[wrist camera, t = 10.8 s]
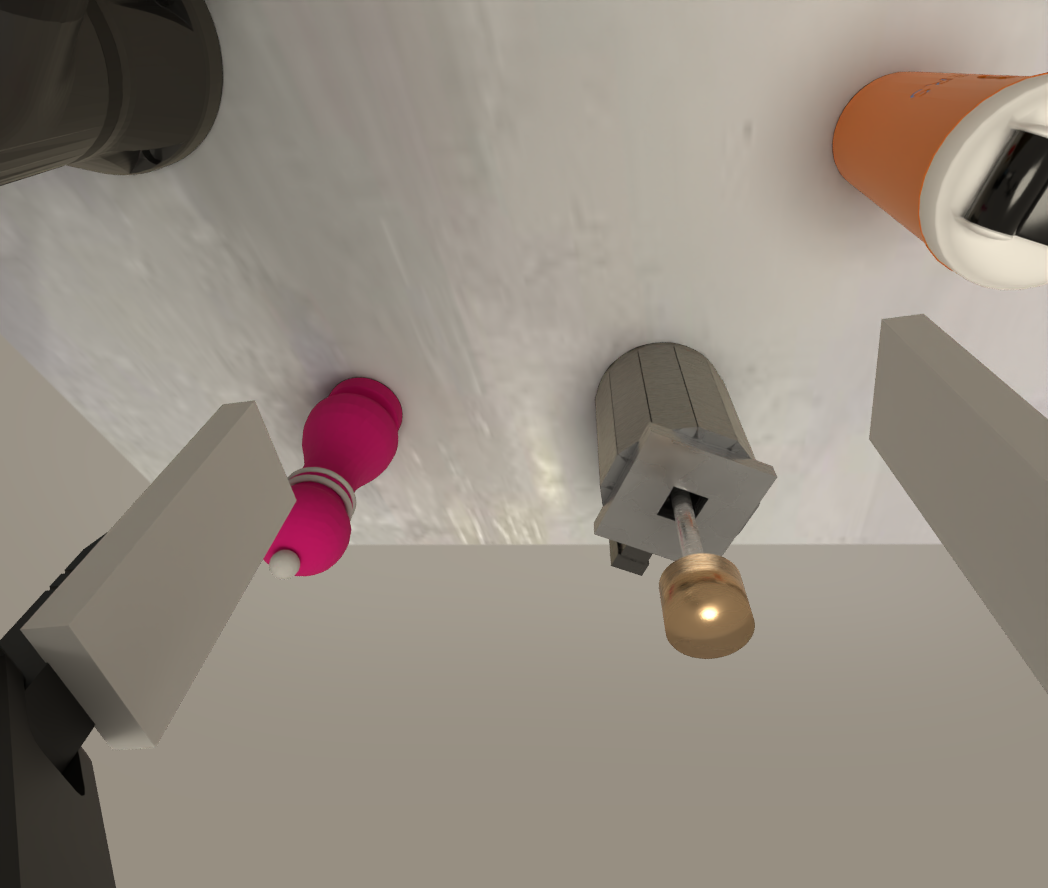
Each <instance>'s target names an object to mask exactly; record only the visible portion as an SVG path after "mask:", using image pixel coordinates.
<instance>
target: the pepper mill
mask: <svg viewBox="0 0 1048 888" xmlns="http://www.w3.org/2000/svg"><path fill="white" fill-rule="evenodd" d="M401 422H402V409H401V405H400V403H399V401H398V399H397V397H396V396H395V395H394V393H393V392H392V391H391V390H390V389H388V388H387V387H386V386H385V385H383V384H381V383H379V382H378V381H375V380H372V379H368V378H351V379H348V380H345V381H343V382H341V383H340V384H338V385H337V386H336V387H335V388H334V389H333V390H332V392H331V393H330V395H329V396H328V397H327V398H326V399H324V400H322V401H320V402H319V403H318V404H317V405H316V406H315V407H314V408H313V409H312V411H311V412H310V414H309V416H308V418H307V421H306V423H305V426H304V430H303V439H302V448H303V454H304V463H305V464H304V467H303V468H302V469H299V470H297V471H295V472H293V473H292V474H291V475H290V476H289V477H288V478H287V479H288V481H289V484H290V486H291V488H292V491H293V493H294V495H295V498H296V500H297V501H296V502H295V504H294V506H293V508H292V509H291V511H290V513H289V515H288V516H287V518H286V520H285V522H284V523H283V525H282V527H281V529H280V530H279V532H278V534H277V536H276V537H275V539H274V541H273V543H272V544H271V546H270V548H269V550H268V551H267V553H266V555H265V557H264V560H265V562H266V563H267V564H269V570H270V571H271V573H272V575H273V576H274V577H276V578H278V579H283V580H285V579H289V578H291V577H293V576H311V575H315V574H318V573H321V572H324V571H326V570H328V569H329V568H330V567H331V566H333V565H334V564H335V563H336V562H337V561H338V560H339V559H340V558H341V557H342V555H343V553H344V552H345V550H346V548H347V546H348V544H349V540H350V534H351V525H350V520H351V518H352V515H353V514H354V511H355V509H356V497H355V494H354V492H355V491H356V490H357V489H358V488H359V487H361V486H363V485H365V484H367V483H368V482H370V481H372V480H374V479H375V478H376V477H378V476H379V475H380V474H381V473H382V472H383V471H384V470H385V469H386V468H387V467H388V465H389V464H390V462H391V461H392V459H393V457H394V455H395V453H396V450H397V447H398V430H399V428H400V425H401Z"/></svg>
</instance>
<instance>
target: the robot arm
mask: <svg viewBox="0 0 1048 888" xmlns="http://www.w3.org/2000/svg"><path fill="white" fill-rule="evenodd" d="M222 74H223V73H222V60H221V52H220V47H219V42H218V38H217V34H216V30H215V27H214V24H213V21H212V18H211V16H210V13H209V11H208V8H207V6H206V4H205V1H204V0H0V186H2V185H5V184H8V183H11V182H14V181H18V180H21V179H24V178H27V177H30V176H33V175H36V174H40V173H43V172H46V171H49V170H52V169H55V168H58V167H62V166H65V165H67V166H71V167H76V168H81V169H85V170H90V171H94V172H99V173H104V174H112V175H135V174H143V173H147V172H151V171H154V170H157V169H160V168H163V167H165V166H168V165H171V164H173V163H175V162H178V161H179V160H181V159H183V158H184V157H186V156H187V155H189V154H190V153H191V152H192V151H193V150H195V149H196V148H197V147H198V146H199V144H200V143H201V142H202V141H203V140H204V138H205V137H206V135H207V134H208V132H209V130H210V129H211V127H212V125H213V122H214V120H215V118H216V115H217V112H218V108H219V104H220V99H221V93H222ZM869 440H870V441H871V442H872V444H873V445H874V447H875V448H876V450H877V451H878V452H879V454H880V455H881V457H882V458H883V460H884V461H885V462H886V464H887V465H888V467H889V468H890V470H891V471H892V472H893V474H894V475H895V477H896V478H897V480H898V481H899V482H900V484H901V485H902V487H903V488H904V490H905V491H906V492H907V494H908V495H909V497H910V498H911V500H912V501H913V502H914V504H915V505H916V507H917V508H918V510H919V511H920V512H921V514H922V515H923V517H924V518H925V520H926V521H927V522H928V524H929V525H930V527H931V528H932V530H933V531H934V532H935V534H936V535H937V537H938V538H939V540H940V541H941V542H942V544H943V545H944V547H945V548H946V550H947V551H948V552H949V554H950V555H951V557H952V558H953V560H954V561H955V562H956V564H957V565H958V567H959V568H960V569H961V571H962V572H963V574H964V575H965V576H966V578H967V580H968V581H969V582H970V584H971V585H972V586H973V588H974V589H975V591H976V592H977V594H978V595H979V597H980V598H981V599H982V601H983V602H984V604H985V605H986V607H987V608H988V609H989V611H990V612H991V614H992V615H993V616H994V618H995V619H996V621H997V622H998V624H999V625H1000V626H1001V628H1002V629H1003V631H1004V632H1005V634H1006V635H1007V636H1008V638H1009V639H1010V641H1011V642H1012V644H1013V645H1014V646H1015V648H1016V649H1017V651H1018V652H1019V654H1020V655H1021V657H1022V658H1023V659H1024V661H1025V662H1026V664H1027V665H1028V666H1029V668H1030V669H1031V671H1032V672H1033V674H1034V675H1035V677H1036V678H1037V679H1038V681H1039V682H1040V684H1041V685H1042V687H1043V688H1044V689H1045V690H1046V692H1047V694H1048V419H1047V418H1046V417H1044V416H1043V415H1042V414H1041V413H1040V412H1039V411H1037V410H1036V409H1035V408H1034V407H1033V406H1031V405H1030V404H1029V403H1028V402H1027V401H1026V400H1024V399H1023V398H1022V397H1021V396H1020V395H1019V394H1017V393H1016V392H1015V391H1014V390H1013V389H1011V388H1010V387H1009V386H1008V385H1007V384H1006V383H1004V382H1003V381H1002V380H1001V379H1000V378H998V377H997V376H996V375H995V374H994V373H993V372H991V371H990V370H989V369H988V368H987V367H986V366H984V365H983V364H982V363H981V362H980V361H978V360H977V359H976V358H975V357H974V356H973V355H971V354H970V353H969V352H968V351H967V350H966V349H964V348H963V347H962V346H961V345H960V344H958V343H957V342H956V341H955V340H954V339H953V338H951V337H950V336H949V335H948V334H947V333H945V332H944V331H943V330H942V329H941V328H940V327H938V326H937V325H936V324H935V323H934V322H933V321H931V320H930V319H929V318H928V317H927V316H925V315H924V314H919V315H911V316H903V317H895V318H888V319H882V321H881V330H880V340H879V350H878V359H877V369H876V379H875V388H874V398H873V407H872V417H871V427H870V436H869ZM296 501H297V500H296V498H295V495H294V493H293V491H292V488H291V486H290V484H289V481H288V479H287V476H286V474H285V472H284V469H283V467H282V464H281V462H280V460H279V457H278V455H277V453H276V450H275V448H274V445H273V443H272V441H271V438H270V436H269V433H268V431H267V429H266V426H265V424H264V422H263V419H262V417H261V414H260V412H259V410H258V407H257V405H256V402H255V401H247V402H239V403H232V404H224V405H222V406H221V407H220V408H219V409H218V410H217V412H216V413H215V414H214V415H213V416H212V417H211V418H210V419H209V420H208V422H207V423H206V424H205V425H204V426H203V427H202V428H201V429H200V430H199V432H198V433H197V434H196V435H195V436H194V437H193V438H192V439H191V440H190V441H189V443H188V444H187V445H186V446H185V447H184V448H183V449H182V450H181V451H180V453H179V454H178V455H177V456H176V457H175V458H174V459H173V460H172V461H171V463H170V464H169V465H168V466H167V467H166V468H165V469H164V470H163V471H162V473H161V474H160V475H159V476H158V477H157V478H156V479H155V480H154V481H153V483H152V484H151V485H150V486H149V487H148V488H147V489H146V490H145V491H144V493H143V494H142V495H141V496H140V497H139V498H138V499H137V500H136V501H135V503H134V504H133V505H132V506H131V507H130V508H129V509H128V510H127V511H126V513H125V514H124V515H123V516H122V517H121V518H120V519H119V520H118V522H117V523H116V524H115V525H114V526H113V527H112V528H111V529H110V530H109V531H108V532H107V533H106V534H104V535H103V536H102V537H100V538H99V539H97V540H96V541H95V542H93V543H92V544H90V545H89V546H88V547H86V548H85V549H83V551H82V552H81V553H80V554H79V555H78V556H77V557H76V558H75V559H74V561H72V563H71V564H70V565H69V566H68V567H67V568H66V569H65V574H61V575H60V576H59V577H58V578H57V579H56V580H55V581H54V582H53V583H52V584H51V586H50V590H49V591H45V592H44V593H43V594H42V595H41V596H40V598H39V599H38V600H37V601H36V602H35V603H34V604H33V605H32V606H31V607H30V608H29V610H28V611H27V612H26V613H25V614H24V615H23V616H22V617H21V618H20V619H19V620H18V621H17V623H16V624H15V625H14V626H13V627H12V628H11V629H10V630H9V631H8V632H7V633H6V634H5V636H4V637H3V638H2V639H1V640H0V888H116V886H115V880H114V876H113V870H112V865H111V860H110V854H109V849H108V844H107V839H106V834H105V829H104V824H103V818H102V813H101V807H100V803H99V797H98V792H97V787H96V781H95V776H94V771H93V766H92V761H91V760H90V758H89V756H88V755H87V753H86V752H85V751H84V749H83V748H82V747H81V745H82V744H83V742H84V741H85V740H86V738H87V737H88V735H89V734H90V732H91V731H92V729H93V728H94V727H95V728H96V729H97V731H98V732H99V733H100V734H101V736H102V737H103V738H104V740H105V741H106V742H107V744H108V745H109V746H110V748H111V749H112V750H123V749H141V748H155V747H156V746H157V744H158V743H159V741H160V739H161V737H162V736H163V734H164V732H165V730H166V729H167V727H168V725H169V723H170V722H171V720H172V718H173V716H174V715H175V713H176V711H177V709H178V708H179V706H180V704H181V702H182V701H183V699H184V697H185V695H186V694H187V692H188V690H189V688H190V686H191V685H192V683H193V681H194V679H195V678H196V676H197V674H198V672H199V671H200V669H201V667H202V665H203V663H204V662H205V660H206V658H207V657H208V655H209V653H210V651H211V650H212V648H213V646H214V644H215V643H216V641H217V639H218V637H219V636H220V634H221V632H222V630H223V628H224V627H225V625H226V623H227V622H228V620H229V618H230V616H231V615H232V613H233V611H234V609H235V608H236V606H237V604H238V602H239V600H240V599H241V597H242V595H243V593H244V592H245V590H246V588H247V587H248V585H249V583H250V581H251V580H252V578H253V576H254V574H255V572H256V571H257V569H258V567H259V565H260V564H261V562H262V560H263V559H264V557H265V555H266V553H267V551H268V550H269V548H270V546H271V544H272V543H273V541H274V539H275V537H276V536H277V534H278V532H279V530H280V529H281V527H282V525H283V523H284V522H285V520H286V518H287V516H288V515H289V513H290V511H291V509H292V508H293V506H294V504H295V502H296Z"/></svg>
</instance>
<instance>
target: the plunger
mask: <svg viewBox="0 0 1048 888" xmlns="http://www.w3.org/2000/svg"><path fill="white" fill-rule="evenodd" d="M670 496H671V501H672V506H673V511H674V516H675V521H676V526H677V531H678V536H679V541H680V546H681V550H682V555H683V557H682V558H680V559H678V560H676V561H675V562H673V563H672V564H670V565H669V566H668V567H667V568H666V569H665V570H664V572H663V573H662V575H661V578H660V582H659V591H660V598H661V605H662V611H663V618H664V625H665V631H666V636H667V639H668V641H669V643H670V644H671V645H672V646H673V647H674V648H675V649H676V650H678V651H679V652H681V653H683V654H685V655H687V656H690V657H695V658H702V659H712V658H719V657H723V656H727V655H729V654H732V653H734V652H736V651H738V650H739V649H741V648H742V647H743V646H745V645H746V644H747V642H748V641H749V640H750V639H751V637H752V635H753V633H754V628H755V623H754V618H753V615H752V612H751V608H750V605H749V602H748V598H747V595H746V592H745V588H744V585H743V582H742V578H741V575H740V572H739V570H738V569H737V567H736V566H735V565H734V564H733V563H732V562H730V561H729V560H727V559H726V558H724V557H721V556H718V555H714V554H706V553H704V552H703V548H702V543H701V539H700V535H699V531H698V527H697V523H696V519H695V515H694V511H693V507H692V502H691V498H690V494H689V491H686V490H683V489H680V488H677V487H673V489H672V490H671V492H670Z"/></svg>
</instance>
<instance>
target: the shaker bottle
mask: <svg viewBox="0 0 1048 888" xmlns="http://www.w3.org/2000/svg"><path fill="white" fill-rule="evenodd" d="M833 155H834V160H835V164H836V166H837V168H838V170H839V172H840V173H841V175H842V176H843V177H844V178H845V180H847V181H848V182H849V183H850V184H852V185H853V186H854V187H855V188H857V189H858V190H859V191H860V192H862V193H863V194H864V195H865V196H867V197H868V198H869V199H870V200H872V201H873V202H874V203H875V204H877V205H878V206H879V207H880V208H882V209H883V210H884V211H885V212H887V213H888V214H889V215H890V216H892V217H893V218H894V219H895V220H897V221H898V222H899V223H900V224H902V225H903V226H904V227H905V228H907V229H908V230H909V231H910V232H912V233H913V234H914V235H915V236H917V237H918V238H919V239H920V240H922V241H923V242H924V243H925V244H926V246H927V248H928V249H929V251H930V252H931V253H932V255H933V256H934V257H935V258H936V260H937V261H939V262H940V263H941V264H943V265H944V266H945V267H947V268H948V269H949V270H951V271H954V272H956V273H957V274H959V275H960V276H962V277H963V278H965V279H966V280H968V281H970V282H973V283H975V284H977V285H980V286H982V287H987V288H993V289H998V290H1021V289H1026V288H1032V287H1037V286H1042V285H1045V284H1047V283H1048V72H1047V73H1043V74H1038V75H1034V76H1009V75H983V74H957V73H932V72H896V73H892V74H888V75H885V76H883V77H881V78H878V79H876V80H874V81H873V82H871V83H870V84H868V85H867V86H865V87H864V88H863V89H861V90H860V91H859V92H858V93H857V94H856V95H855V96H854V97H853V98H852V99H851V101H850V102H849V103H848V104H847V106H846V107H845V109H844V110H843V112H842V114H841V116H840V118H839V120H838V123H837V125H836V128H835V132H834V138H833Z"/></svg>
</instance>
